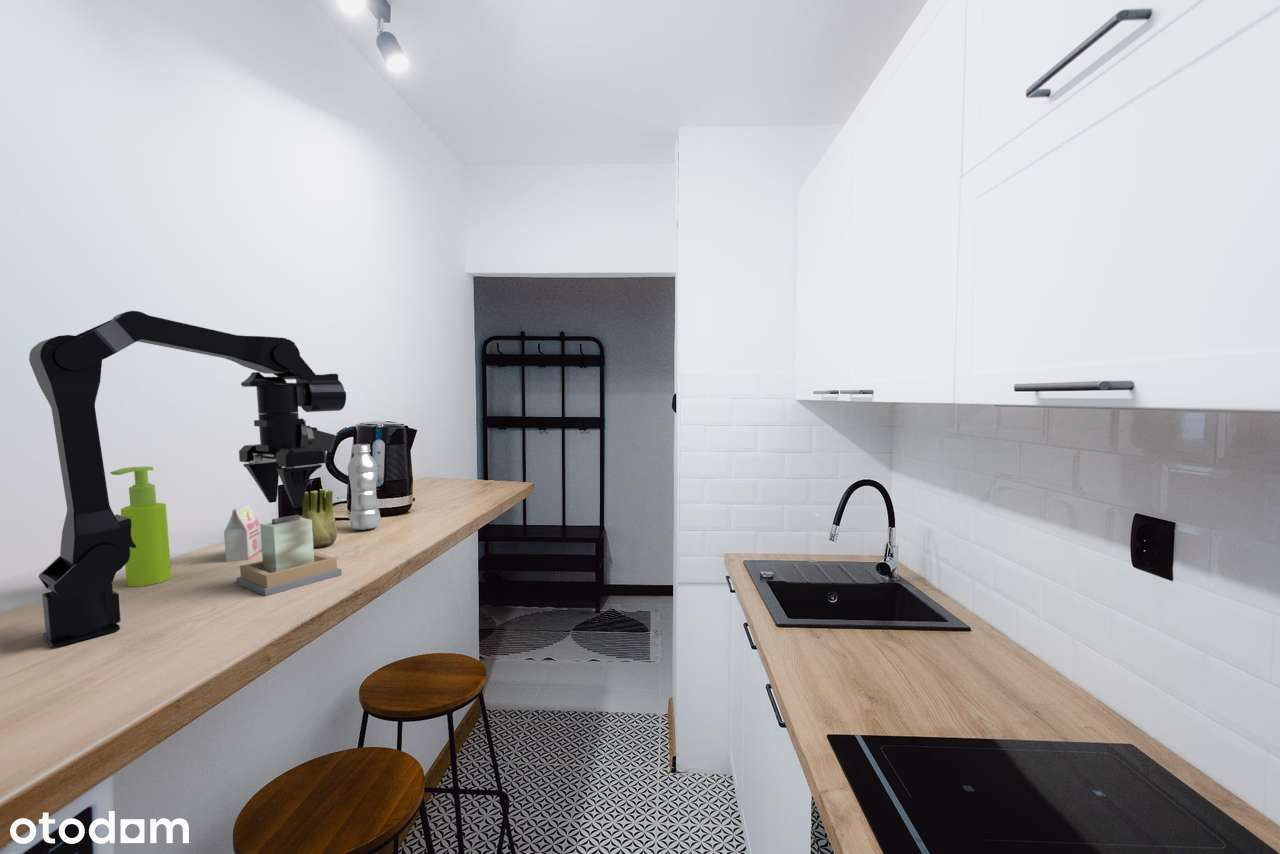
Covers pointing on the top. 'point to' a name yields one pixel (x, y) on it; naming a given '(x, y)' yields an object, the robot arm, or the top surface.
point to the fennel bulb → (320, 517)
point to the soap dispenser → (146, 532)
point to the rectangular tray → (287, 575)
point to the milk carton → (242, 535)
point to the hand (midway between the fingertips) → (284, 504)
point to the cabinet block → (286, 543)
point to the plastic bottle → (363, 489)
